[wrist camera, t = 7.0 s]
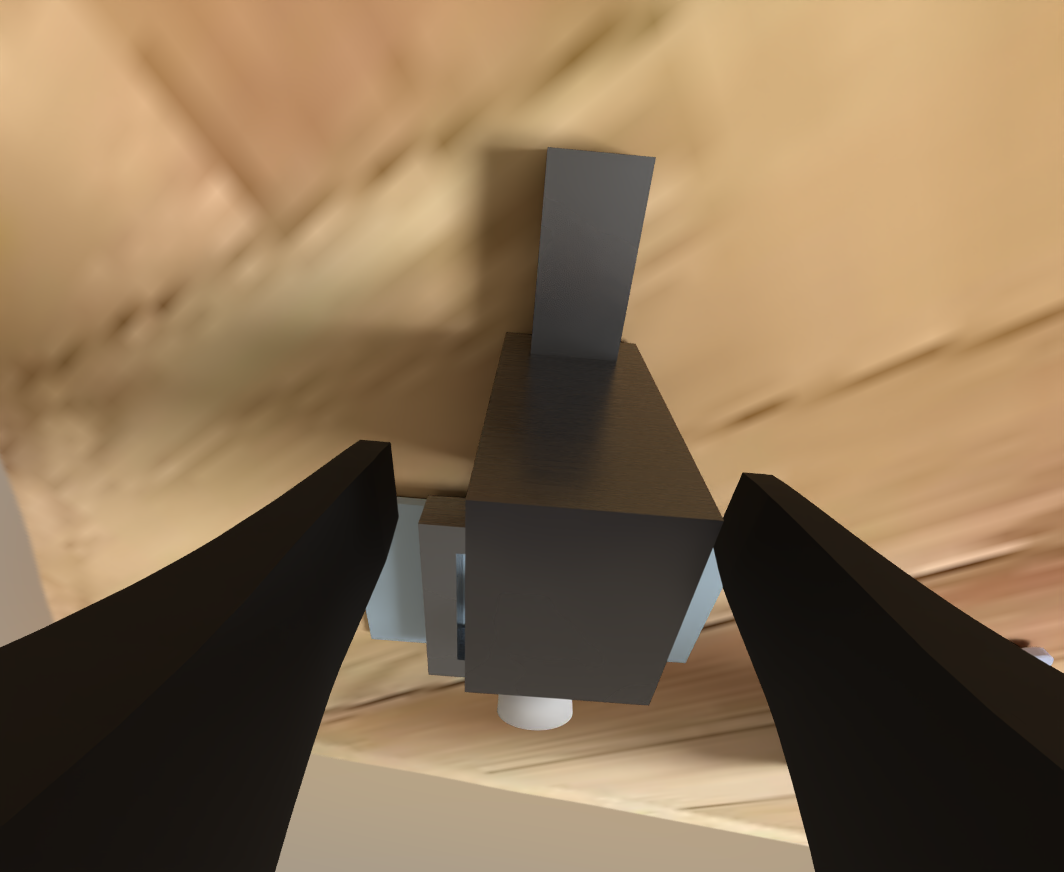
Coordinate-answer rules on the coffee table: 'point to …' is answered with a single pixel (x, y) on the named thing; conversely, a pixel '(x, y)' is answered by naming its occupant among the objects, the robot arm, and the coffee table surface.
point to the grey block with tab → (571, 478)
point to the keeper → (403, 619)
